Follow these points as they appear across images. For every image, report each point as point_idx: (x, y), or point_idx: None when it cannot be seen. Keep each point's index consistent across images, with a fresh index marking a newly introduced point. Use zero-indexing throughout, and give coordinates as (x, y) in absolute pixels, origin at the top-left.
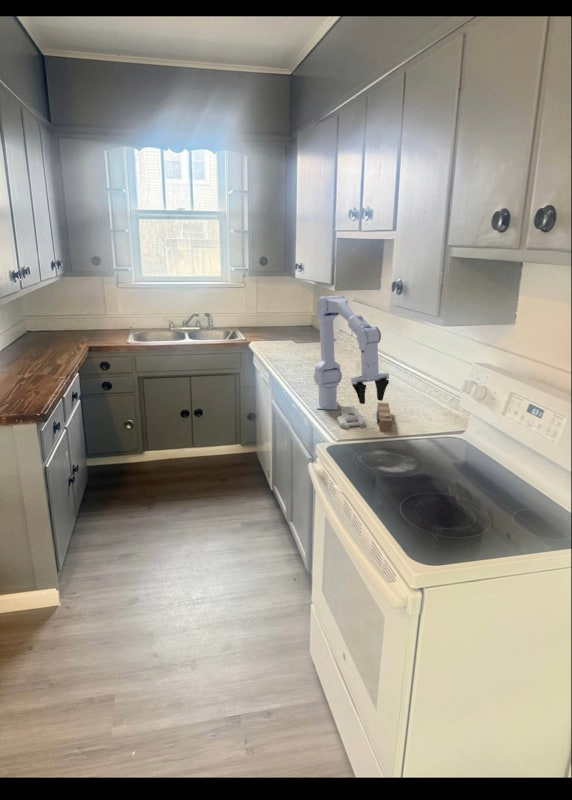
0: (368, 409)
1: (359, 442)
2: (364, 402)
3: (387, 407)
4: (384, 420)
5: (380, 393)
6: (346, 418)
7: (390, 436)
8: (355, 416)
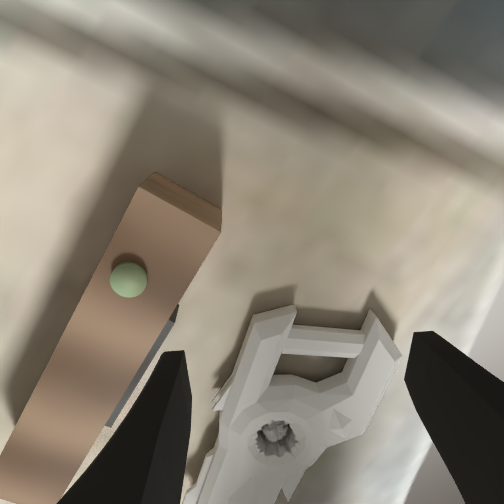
0: None
1: (453, 97)
2: (427, 339)
3: (29, 427)
4: (192, 217)
5: (172, 434)
6: (335, 402)
7: (209, 97)
8: (275, 406)
